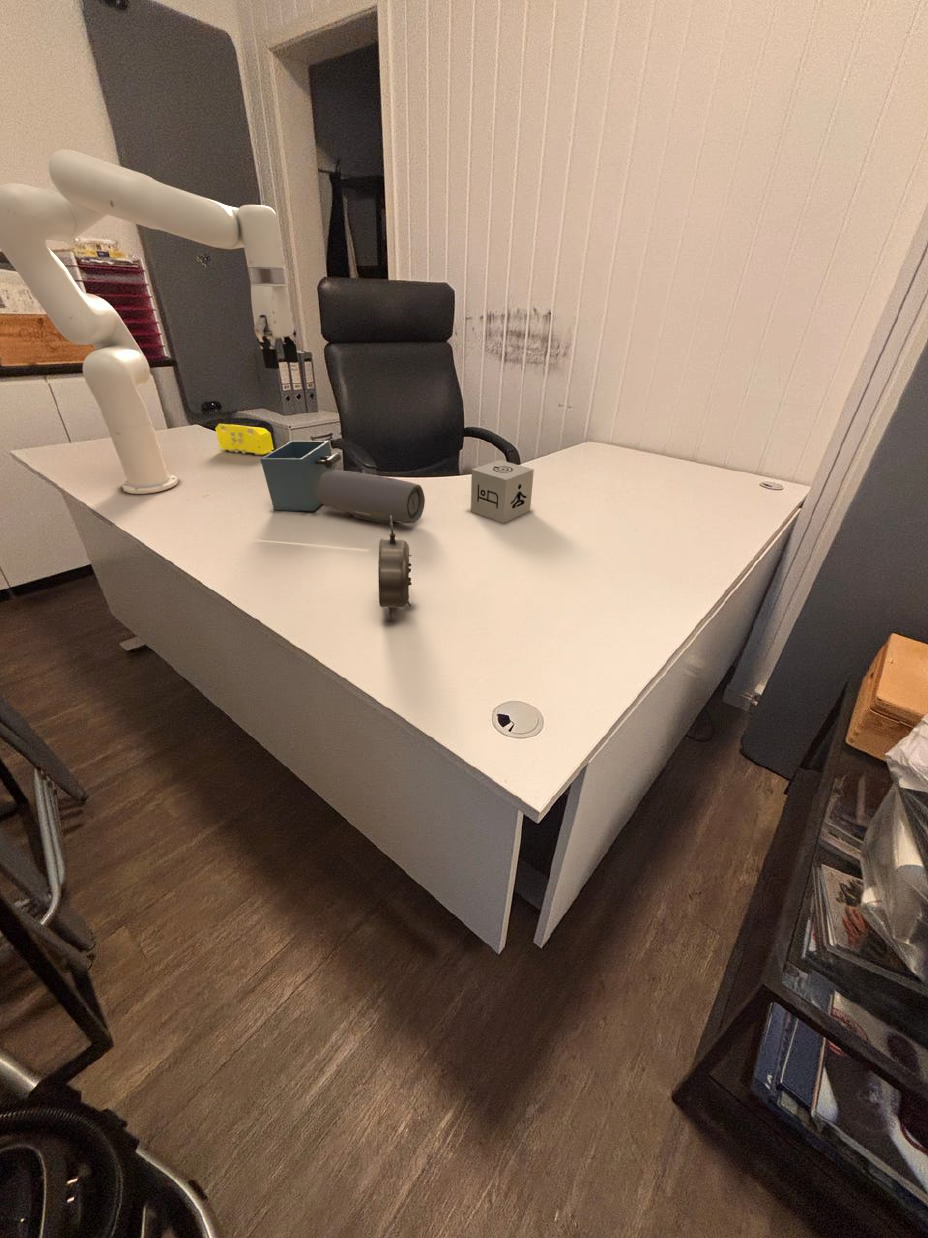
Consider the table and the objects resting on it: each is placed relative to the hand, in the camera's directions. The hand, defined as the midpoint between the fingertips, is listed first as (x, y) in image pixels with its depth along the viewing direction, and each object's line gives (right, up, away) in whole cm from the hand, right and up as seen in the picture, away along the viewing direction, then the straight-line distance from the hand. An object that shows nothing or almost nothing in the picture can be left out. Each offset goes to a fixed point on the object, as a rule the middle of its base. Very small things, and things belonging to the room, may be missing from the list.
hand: (282, 365), depth 120 cm
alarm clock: (+32, -58, -35) cm, 75 cm away
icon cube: (+52, -35, 0) cm, 62 cm away
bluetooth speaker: (+22, -37, -4) cm, 44 cm away
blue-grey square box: (-1, -26, +1) cm, 26 cm away
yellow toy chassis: (-24, -8, +37) cm, 45 cm away
